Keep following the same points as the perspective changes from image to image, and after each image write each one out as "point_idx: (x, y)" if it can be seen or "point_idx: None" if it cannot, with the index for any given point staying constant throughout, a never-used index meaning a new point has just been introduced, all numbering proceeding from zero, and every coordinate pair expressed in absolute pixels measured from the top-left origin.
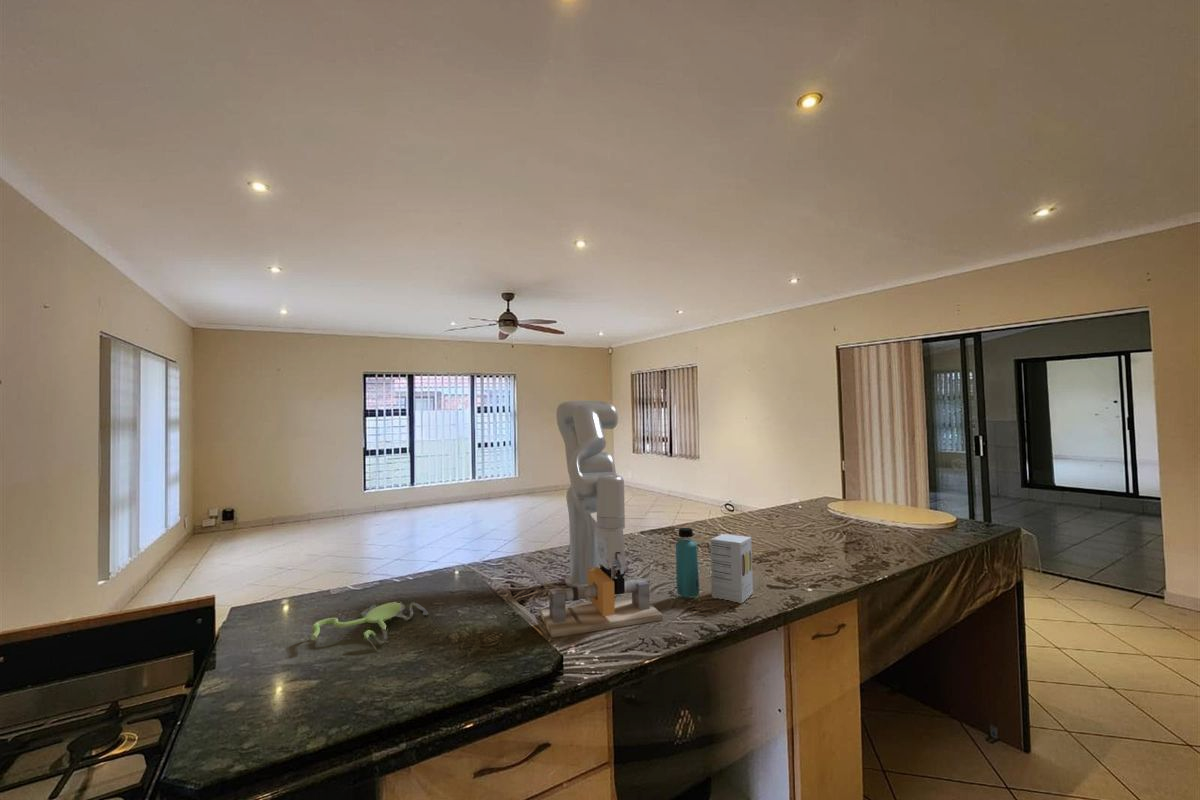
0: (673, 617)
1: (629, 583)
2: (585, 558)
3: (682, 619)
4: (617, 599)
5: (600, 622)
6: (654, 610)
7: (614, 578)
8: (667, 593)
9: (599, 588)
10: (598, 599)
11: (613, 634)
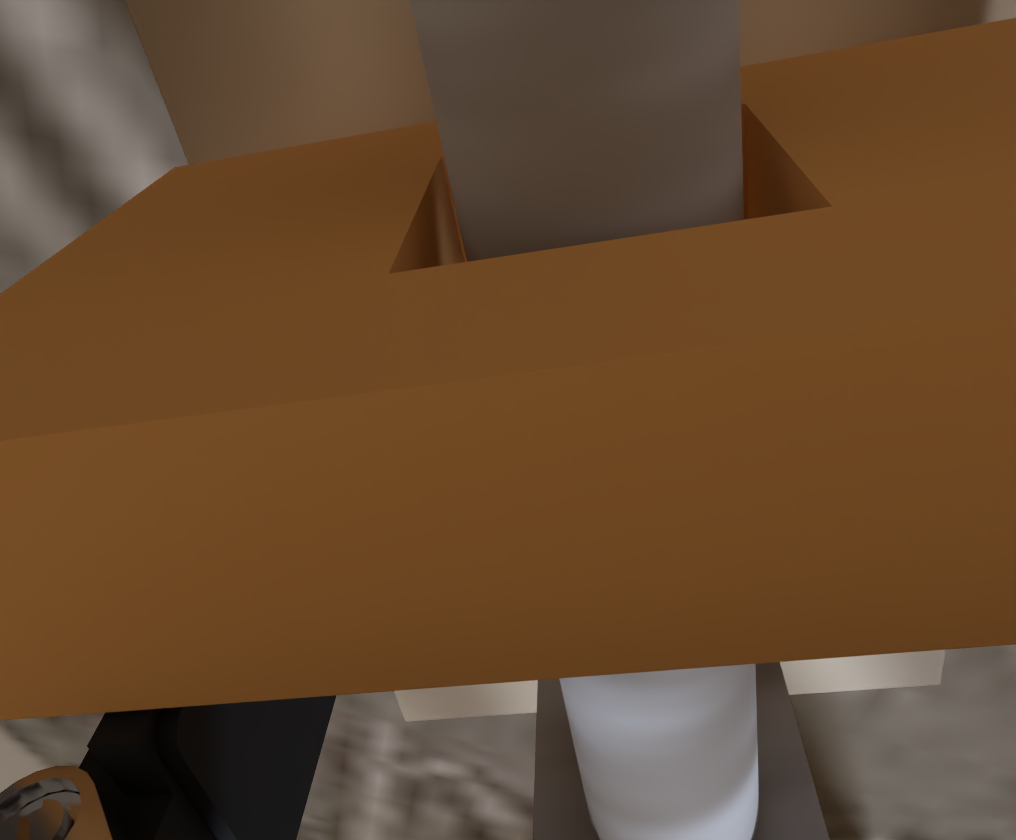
0: (458, 747)
1: (606, 795)
2: None
3: (411, 780)
4: None
5: (203, 97)
6: (502, 693)
7: (71, 785)
8: (983, 836)
9: (209, 296)
10: (370, 180)
11: (85, 214)
